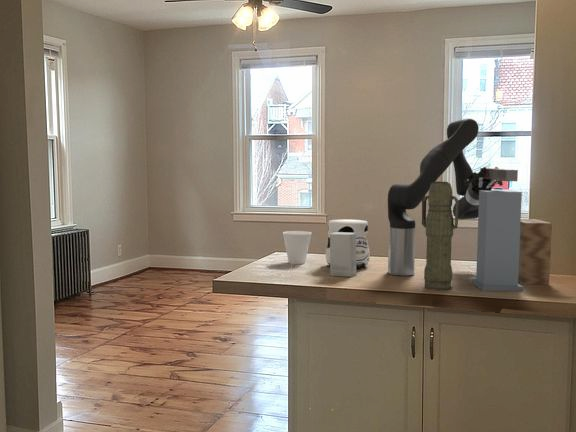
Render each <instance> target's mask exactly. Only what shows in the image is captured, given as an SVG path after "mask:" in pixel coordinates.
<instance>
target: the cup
mask: <svg viewBox="0 0 576 432" xmlns="http://www.w3.org/2000/svg"><path fill="white" fill-rule="evenodd" d="M312 233H313V232H311V231H306V230H289V231H287V230H286V231H283V232H282V235H283V240H284V246H285V250H286V255H287V256H286V257H287V260H288V261H287V263H289V264H291V265H304V264H306V262H307V261H306V260H307V255H308V250H309V246H310V242H311V237H312Z"/></svg>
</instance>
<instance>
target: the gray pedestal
mask: <svg viewBox="0 0 576 432" xmlns="http://www.w3.org/2000/svg"><path fill="white" fill-rule="evenodd" d="M522 193H523V192H522V191H518V190H495V189H494V190H492V189H491V190H479V212H478V218H477V220H478V221H477V244H476V245H477V247H476V270H475V271H476V272H475V273H476V274H475V278H473V277H471V284H473V285H474V286H475V287H476V288H478V289H479V290H480V291H482V292H524V286H523V285H521V284H519V282H518V272H519V248H520V224H521V219H522V196H523V194H522Z"/></svg>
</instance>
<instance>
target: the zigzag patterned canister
mask: <svg viewBox="0 0 576 432" xmlns="http://www.w3.org/2000/svg"><path fill="white" fill-rule="evenodd" d="M552 227H553V223H552V222H548V221H545V220H541V219H537V218H536V219H535V218H531V219H530V218H521V224H520V248H519V272H518V283H520V284H522V285H550V272H551V271H550V268H551V255H552V254H551V253H552V250H551V249H552V231H553V229H552Z"/></svg>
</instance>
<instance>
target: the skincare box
mask: <svg viewBox="0 0 576 432" xmlns="http://www.w3.org/2000/svg"><path fill="white" fill-rule="evenodd" d="M329 266H330V267H329V268H330V276H332V277H347V278H351V277H354V276H355V275H357V268H356V233H349V232H334V233H332V234H330V265H329Z"/></svg>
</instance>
